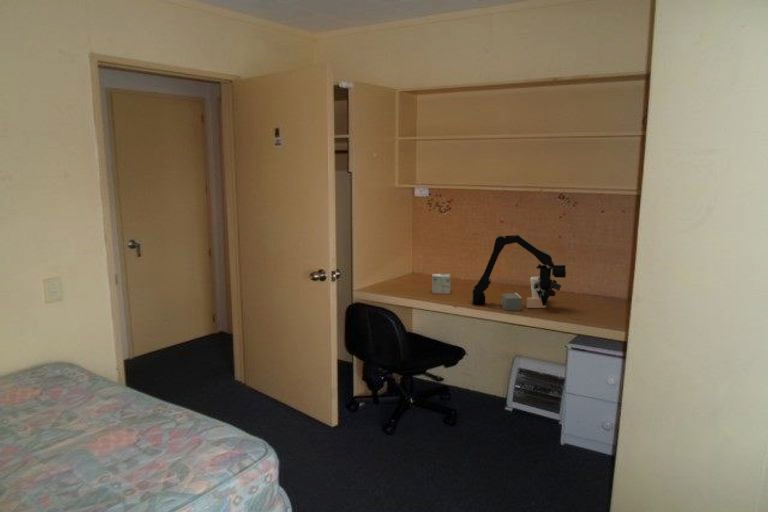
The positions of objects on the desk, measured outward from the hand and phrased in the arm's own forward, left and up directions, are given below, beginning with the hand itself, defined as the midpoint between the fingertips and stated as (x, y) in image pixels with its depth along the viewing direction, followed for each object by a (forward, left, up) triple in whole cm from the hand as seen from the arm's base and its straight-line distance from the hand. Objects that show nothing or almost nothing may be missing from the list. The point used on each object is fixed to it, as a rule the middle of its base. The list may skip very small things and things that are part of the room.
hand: (543, 305), depth 294 cm
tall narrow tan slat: (-4, 0, -1) cm, 4 cm away
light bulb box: (-51, +35, -2) cm, 61 cm away
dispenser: (-18, 0, -1) cm, 18 cm away
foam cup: (+1, +14, -2) cm, 14 cm away
